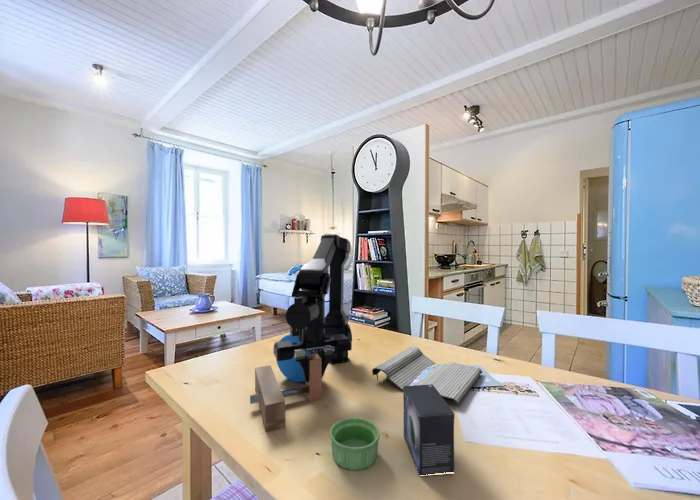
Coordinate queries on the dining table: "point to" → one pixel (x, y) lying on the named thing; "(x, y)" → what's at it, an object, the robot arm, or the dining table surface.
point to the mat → (445, 378)
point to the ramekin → (354, 443)
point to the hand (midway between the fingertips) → (313, 380)
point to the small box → (428, 429)
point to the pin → (311, 387)
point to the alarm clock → (293, 362)
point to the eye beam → (270, 398)
